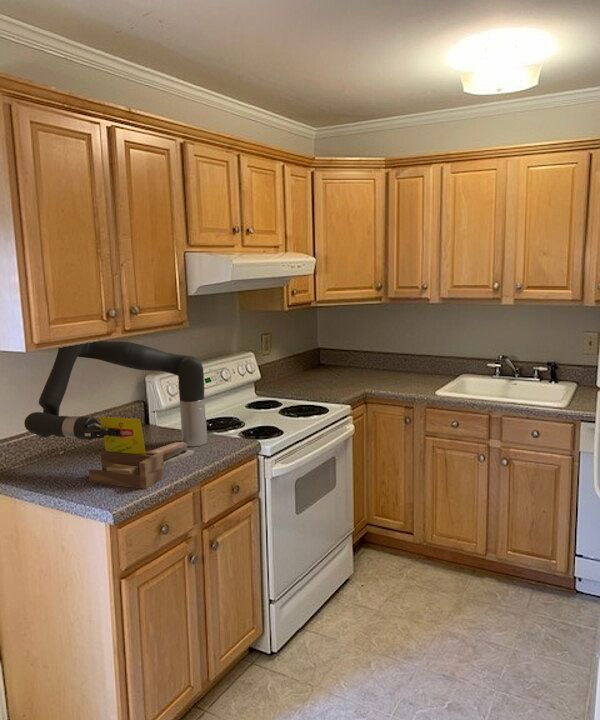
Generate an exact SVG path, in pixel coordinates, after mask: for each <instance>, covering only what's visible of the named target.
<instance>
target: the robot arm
mask: <svg viewBox="0 0 600 720" xmlns="http://www.w3.org/2000/svg"><path fill="white" fill-rule="evenodd" d="M78 357H79V358H86V359H92V360H98V361H102V362H106V363H108V364H109V363H110V364H113V365H118V366H122V367H125V368H129V369H133V370H137V371H138V370H140V371H149V372H163V373H167V374H172V375H174V376H178V395H179V408H180V409H179V410H180V411H179V412H180V413H179V414H180V427H181V442H184V443H186V444H187V447H200V446H203V445H206V444H207V442H208V431H207V430H208V429H207V417H206V405H205V375H204V367H203V364H202V363H201V361H200V360H199V358H197V357H195V356H192V355H182V354H176V353H170V352H166V351H163V350H159V349H158V348H157V349H156V348H154V347H150V346H146V345H143V344H139V343H135V342H130V341H121V340H120V341H115V340H114V341H109V340H101V341H99V342H93V343H86V344H80V345H75V346H69V347H63V348H59V347H58V350H57V354H56V358H55V359H54V363H53V366H52V369H51V370H50V372H49V375H48V378H47V380H46V382H45V385H44V387H43V390H42V392H41V394H40V397H39V400H38V405H39V406H40V407H41V408H42V409H43V410H42V411H35V412H32V413H30V414H28V415H27V416H26V417H25V419H24V421H23V422H24V423H23V424H24V428H25V429H26V430H27V431H28V432H30V433H32V434H34V435H36V436H39V437H41V438H49V437H50V436H54V437H59V438H69V439H72V440H85V441H93V440H94V439H104V436H105V437H108V436H116V437H118V436H120V430H119V429H108V428H105V427H104V426H101V421H98V419H96V418H95V417H94V416H93V417H92V416H82V415H81V416H79V415H72V416H70V415H60V408H61V403H62V402H63V399H64V396H65V394H66V392H67V388H68V386H69V382H70V379H71V378H70V377H71V375H72V371H73V368H74V365H75V363H76V360H77V359H78Z"/></svg>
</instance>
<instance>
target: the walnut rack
mask: <svg viewBox="0 0 600 720" xmlns="http://www.w3.org/2000/svg"><path fill="white" fill-rule="evenodd" d="M100 459H101V461H100V462H101V470H100V469H95V468H94V469H93V468H91V469H88V478H89V479H88V481H89V483H91V482H93V484H100V483H101V484H102V485H109V486H110V485H111V486H118V487H128V488H135V487H136V488H137V489H146V490H147V489H148V488H150V487H152V486H153V485H155V484H156V483H158V482H159V481H161V480H163V479H165V466H164V462H163V453H152V452H149V451H146V455H142V454H131V453H120V452H109V451H106V450H102V451H100ZM113 464H121V465H129V466H137V467H138V473H139V474H132V473H123V472H113V471H107V467H109V466H111V465H113Z"/></svg>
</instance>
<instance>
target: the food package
mask: <svg viewBox="0 0 600 720" xmlns="http://www.w3.org/2000/svg"><path fill="white" fill-rule="evenodd" d="M99 422H101V426H104V427H105V428H108V429H119V430H120V436H118V437H116V436H108V437H105V436H104V438H103V443H104V449H105V451H109V452H120V453H131V454H142V455H146V452H147V451H146V445H145V440H144V434H143V427H142V421H141V419H140V418H126V417H111V416H99Z"/></svg>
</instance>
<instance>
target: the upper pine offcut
mask: <svg viewBox="0 0 600 720" xmlns="http://www.w3.org/2000/svg"><path fill="white" fill-rule="evenodd" d="M107 471H113V472H123V473H132V474H139V473H138V467H137V466H129V465H121V464H113V465H111V466H109V467H107Z"/></svg>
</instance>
